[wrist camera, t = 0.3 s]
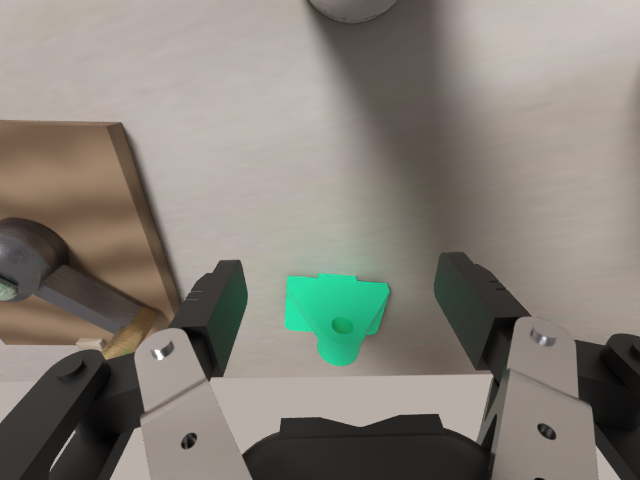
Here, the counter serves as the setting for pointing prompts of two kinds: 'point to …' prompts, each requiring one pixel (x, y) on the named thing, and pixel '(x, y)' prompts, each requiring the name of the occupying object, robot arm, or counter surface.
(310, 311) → the camera mount
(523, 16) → the counter surface
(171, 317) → the walnut base
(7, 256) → the crank handle
